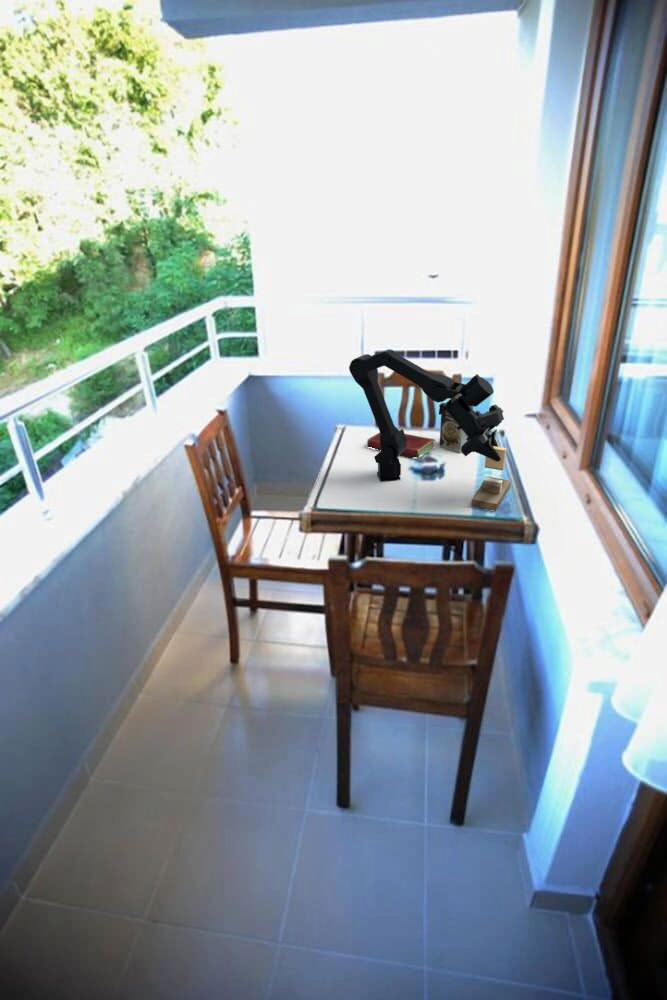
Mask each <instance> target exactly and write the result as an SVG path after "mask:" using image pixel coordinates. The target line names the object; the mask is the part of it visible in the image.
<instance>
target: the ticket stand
mask: <svg viewBox="0 0 667 1000" xmlns="http://www.w3.org/2000/svg"><path fill="white" fill-rule="evenodd" d="M511 484H512V480H510V479H509V480H508V479H505V478H498V477H492V476H486V477H484V478H483V480H482V482H481V485H480V487H479V488H478V490H476V492H475V493H474V495H473V496H472V497H471V499H470V501H471V503H470V507H471V508H475V509H480V510H484V509H487V510H486V511H489V510H494V511H496V510H497V511H498V509H499V508H500V506H501V504H502V503H501V502H503V501H504V499H505V498H504V497H506V496H507V494H508V493H509V491H510V489H511ZM507 492H508V493H507ZM502 500H503V501H502ZM499 505H500V506H499ZM498 507H499V508H498ZM497 508H498V509H497ZM494 511H493V512H494ZM497 511H496V512H497Z"/></svg>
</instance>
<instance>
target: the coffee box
mask: <svg viewBox="0 0 667 1000" xmlns="http://www.w3.org/2000/svg"><path fill="white" fill-rule="evenodd" d="M470 407H471V408H472V410H474V406H470ZM457 427H458V425H457V423H456V422H455V421H454V420H453V419H452V417H451V416H450V415H449V414H448V413H447V411H444V412H443V413H442V414H441V415H440V430H439V444H438V445H439V449H444V450H446V451H450V452H454V453H457V454H463V453H462V452H461V447H462V445H463V444H464V443H465V442H467V440H466V438H467V435H466V434H465V433H464V432H463V431H462V429H460V430H458V429H457Z"/></svg>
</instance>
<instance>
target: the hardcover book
mask: <svg viewBox="0 0 667 1000" xmlns="http://www.w3.org/2000/svg"><path fill="white" fill-rule="evenodd" d="M404 434H405V437H406V438H407V440H408V441H407V447H406V449H405V451H404V452H402V453H401V455H400V456H399V457H403V456H404V457H403V458H407V457H408V458H407V459H411V458H413V457H417V458H419V456H420V455H422V454H425V453H427V452H428V453H429V451H430V452H431V451H432V450H434V442H436V439H434V438H429V437H424V436H419V435H414V434H409V433H404ZM366 446H368V447H372V448H375V449H378V450H381V446H380V432H378V433H376V434H374V435H373V436H371V437H370V438H368V439H367V441H366ZM428 453H427V454H428ZM425 455H426V454H425Z"/></svg>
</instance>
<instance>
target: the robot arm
mask: <svg viewBox="0 0 667 1000" xmlns="http://www.w3.org/2000/svg"><path fill="white" fill-rule="evenodd" d="M382 367H386V368H387V369H389V370H391V371H393V372H394V373H396V374H398V375H400V376H402V378H405V379H406V380H408V381H410V382H412V384H415V385H417V387H419V388H420V389H421V390H422V391H423V394H424V395H426V396H427V397H428V398H429V399H431V400H432V401H433V402H435V403H440V404H439V406H438V407H439V410H438V414H439V416H441V414H442V413H443V412H444V411H447V413H448V414H449V415H450V416H451V417H452V419H453V420H454V421H455V422H456V423H457V425H458V427H457V429H458V430H460V429H462V431H463V432H464V433H465V434H466V435H467V438H466V440H467V442H465V443H464V444H463V445H462V447H461V452H462V453H461V454H463V455H464V457H467V456H468V455H470V454H471V453H476V454H480V455H482V456H484V457H485V458H486V457H488V458H490V459H492V460H495V461H497V462H498V461H500V460H501V459H500V457H499V455H498V454H497V452H496V451H495V449H494V447H493V446H496V447H500V446H499V444H498V441H497V438H496V436H497V432H498V429H495V430H494V431H492V430H493V429H494V428H495V427H496V428H497V427H498V426H499V425H500V424H501V423H502V421H504V420H505V418H504V414H503V413H504V409H502V408H501V407H499V406H498V405H497V404H493V405H490V407H488V408H489V409H488V411H486V412H483V413H481V411H480V410H476V411H475V410H474V409H473V410H472V408H471V407H470V406H473V407H474V408H475V407H478V406H479V405H481V404H482V403H483V402H485V401H486V400H487V399H489V398H490V397H491V396H493V394H494V393H495V392H494V388H493V386H492V385H491V383H490V382H489V380H486V379H485V378H483V377H481V376H480V375H479V374H475V375H474V376H473V377H472V378H471V379H470V380H469V381H468V382H467V383H462V382H457V381H455V380H453V379H452V378H451V377H449V376H446V375H443V374H441V373H434V372H430V371H428V370H427V369H425V368H423V367H421V366H419V365H417V364H415V363H414V362H412V361H410V360H408V359H407V358H405V357H403V356H402V355H400V354H398V353H396V352H395V350H393V349H386V350H384V351H382V352H378V353H375V354H372V355H371V354H367V353H365V354H362V355H360V356H358V357H356V358H354V359H352V360H351V361H350V363H349V366H348V369H349V373H350V374H351V377H352V378H353V380H354V382H355V383H356V384H357V385H358V386H359V387H361V388H362V390H363V393H364V395H365V397H366V399H367V402H368V405H369V407H370V408H369V409H370V410H371V413H372V415H373V418H374V420H375V423H376V425H377V428H378V431H379V433H380V446H381V451H378V453H377V454H375V455H374V457H373V458H374V461H375V463H376V464H377V471H376V475H377V477H378V479H379V482H381V483H382V482H389V481H390V482H391V481H392V482H393V481H401V477H400V476H401V475H402V474H401V473H402V472H401V471H402V468H401V467H402V464H401V462H400V459H399V457H401V456H400V455H401V453H402V452H404V451H405V449H406V447H407V441H408V440H407V438H406V437H405V434H406V433H405V431H404V429H403V428H401V429H400V430H399V428H397V427H396V426H395V424H394V421H393V419H392V416H391V414H390V411H389V409H388V405H387V403H386V400H385V398H384V395H383V393H382V390H381V387H380V384H379V381H378V379H379V370H378V369H380V368H382ZM459 394H460V395H459ZM458 395H459V396H458ZM457 396H458V397H457ZM448 399H449V400H448ZM445 401H447V402H445Z"/></svg>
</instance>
